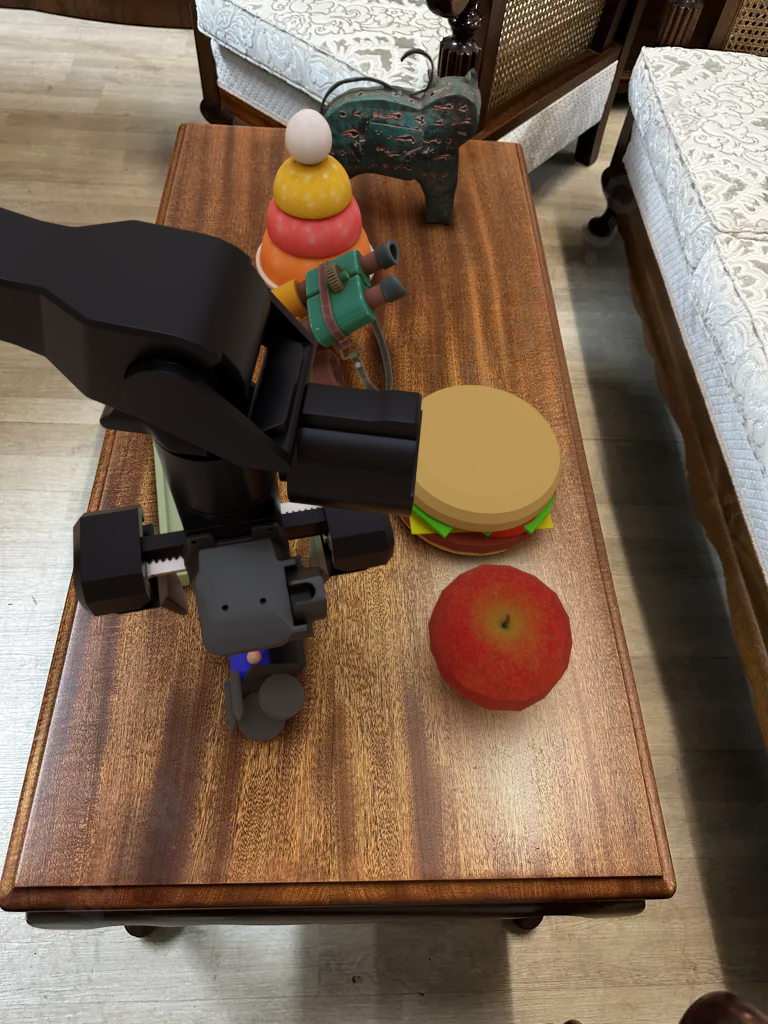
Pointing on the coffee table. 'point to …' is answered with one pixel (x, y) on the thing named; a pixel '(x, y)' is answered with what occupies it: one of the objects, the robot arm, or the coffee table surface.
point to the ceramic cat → (406, 132)
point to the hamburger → (483, 471)
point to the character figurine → (265, 689)
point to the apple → (500, 637)
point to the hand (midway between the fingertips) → (250, 597)
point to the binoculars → (344, 309)
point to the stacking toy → (309, 207)
